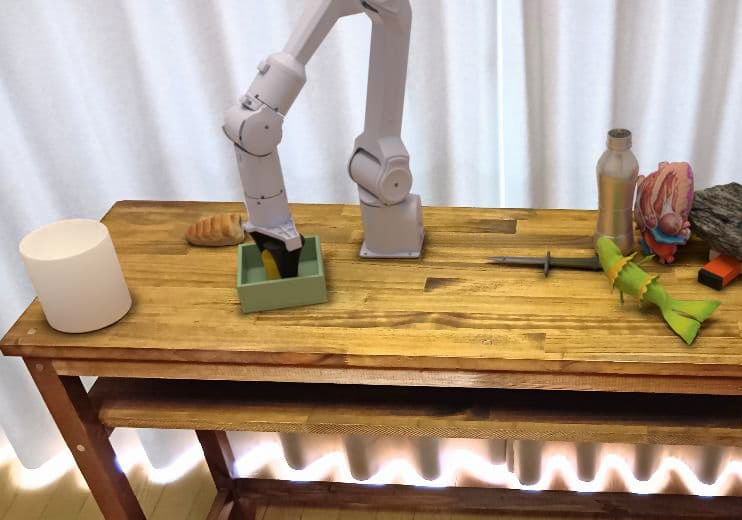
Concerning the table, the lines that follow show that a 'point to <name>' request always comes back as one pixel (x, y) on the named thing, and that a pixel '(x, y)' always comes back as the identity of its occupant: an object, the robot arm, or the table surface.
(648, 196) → the anatomical model
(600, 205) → the plastic bottle
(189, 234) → the pastry
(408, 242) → the robot arm
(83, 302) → the cup
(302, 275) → the basket
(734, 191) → the rock
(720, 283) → the toy
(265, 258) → the pepper
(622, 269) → the toy
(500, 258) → the knife
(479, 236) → the table surface
